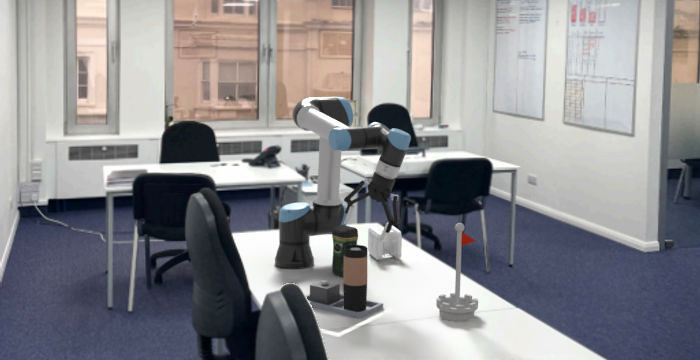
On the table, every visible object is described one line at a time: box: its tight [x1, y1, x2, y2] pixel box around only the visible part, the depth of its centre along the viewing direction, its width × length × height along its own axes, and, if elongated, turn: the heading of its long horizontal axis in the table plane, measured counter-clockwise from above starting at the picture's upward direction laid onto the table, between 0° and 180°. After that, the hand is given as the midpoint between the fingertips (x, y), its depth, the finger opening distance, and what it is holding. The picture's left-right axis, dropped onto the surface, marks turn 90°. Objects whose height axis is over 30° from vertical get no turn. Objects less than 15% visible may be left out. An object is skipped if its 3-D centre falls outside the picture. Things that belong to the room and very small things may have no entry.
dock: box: [305, 293, 384, 320], centre depth 263 cm, size 25×13×2 cm, turn 55°
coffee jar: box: [331, 224, 359, 278], centre depth 300 cm, size 10×8×19 cm
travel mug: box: [342, 244, 368, 312], centre depth 258 cm, size 8×8×20 cm
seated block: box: [309, 279, 341, 305], centre depth 265 cm, size 7×7×7 cm
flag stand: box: [436, 222, 479, 322], centre depth 255 cm, size 13×13×30 cm
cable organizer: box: [367, 225, 403, 261], centre depth 326 cm, size 15×11×12 cm
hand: (363, 231), depth 275 cm, fingers open, 13 cm apart
